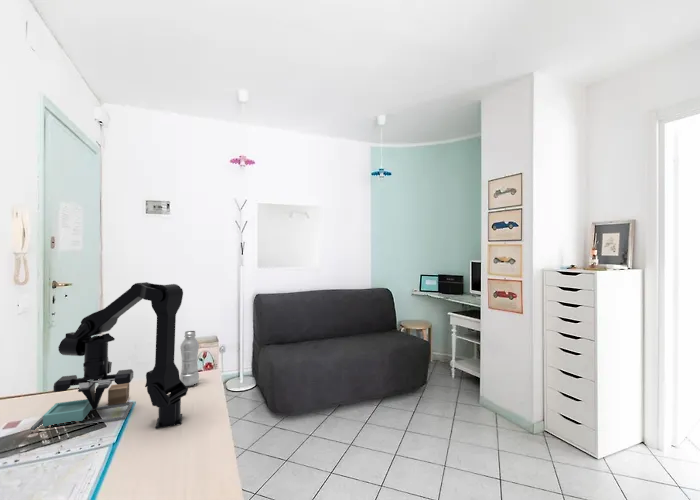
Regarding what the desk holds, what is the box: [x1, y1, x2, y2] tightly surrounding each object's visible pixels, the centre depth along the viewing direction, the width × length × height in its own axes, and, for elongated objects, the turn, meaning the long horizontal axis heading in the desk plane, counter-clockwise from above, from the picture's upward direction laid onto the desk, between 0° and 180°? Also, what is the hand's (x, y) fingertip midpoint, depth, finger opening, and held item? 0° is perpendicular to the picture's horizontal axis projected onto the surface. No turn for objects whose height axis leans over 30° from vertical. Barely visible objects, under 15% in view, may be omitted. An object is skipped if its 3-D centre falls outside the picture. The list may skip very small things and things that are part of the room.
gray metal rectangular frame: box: [30, 401, 134, 431], centre depth 102 cm, size 12×22×2 cm, turn 113°
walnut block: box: [107, 383, 130, 405], centre depth 114 cm, size 5×5×5 cm
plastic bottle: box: [179, 330, 200, 387], centre depth 129 cm, size 6×7×20 cm
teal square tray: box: [42, 398, 92, 427], centre depth 101 cm, size 9×9×4 cm
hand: (95, 408), depth 103 cm, fingers closed
